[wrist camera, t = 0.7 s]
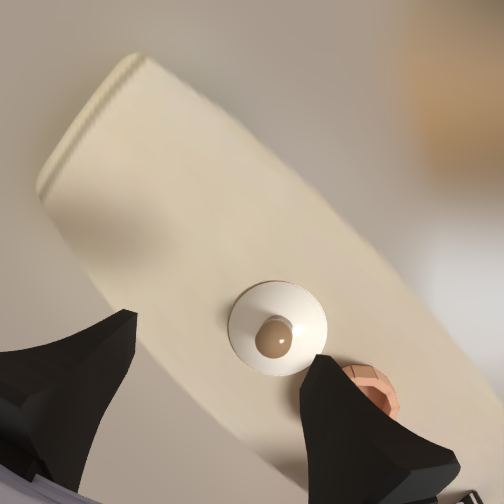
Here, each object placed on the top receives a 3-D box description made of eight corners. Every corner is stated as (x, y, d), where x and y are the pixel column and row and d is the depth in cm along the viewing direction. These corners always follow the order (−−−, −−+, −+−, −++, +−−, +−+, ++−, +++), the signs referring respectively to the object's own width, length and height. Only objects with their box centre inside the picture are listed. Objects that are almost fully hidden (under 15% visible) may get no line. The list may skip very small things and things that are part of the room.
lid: (340, 353, 28) (345, 368, 24) (253, 385, 29) (245, 403, 25) (303, 265, 28) (302, 268, 24) (214, 303, 30) (201, 311, 26)
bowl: (399, 414, 26) (406, 428, 23) (328, 442, 27) (329, 458, 24) (378, 352, 27) (385, 363, 24) (301, 383, 28) (300, 397, 25)
